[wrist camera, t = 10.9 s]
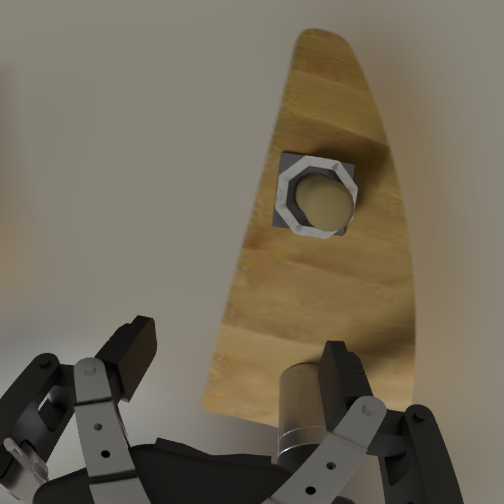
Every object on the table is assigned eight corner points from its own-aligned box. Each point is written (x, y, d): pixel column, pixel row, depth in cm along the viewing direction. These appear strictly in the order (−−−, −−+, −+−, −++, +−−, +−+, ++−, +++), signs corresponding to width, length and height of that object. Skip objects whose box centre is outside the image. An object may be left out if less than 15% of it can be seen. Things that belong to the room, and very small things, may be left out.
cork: (285, 183, 35) (290, 193, 25) (326, 165, 34) (347, 166, 23) (305, 224, 36) (316, 249, 26) (344, 206, 35) (371, 224, 25)
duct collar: (342, 234, 37) (348, 242, 34) (272, 225, 38) (271, 231, 34) (353, 164, 34) (361, 165, 30) (281, 152, 34) (281, 151, 31)
